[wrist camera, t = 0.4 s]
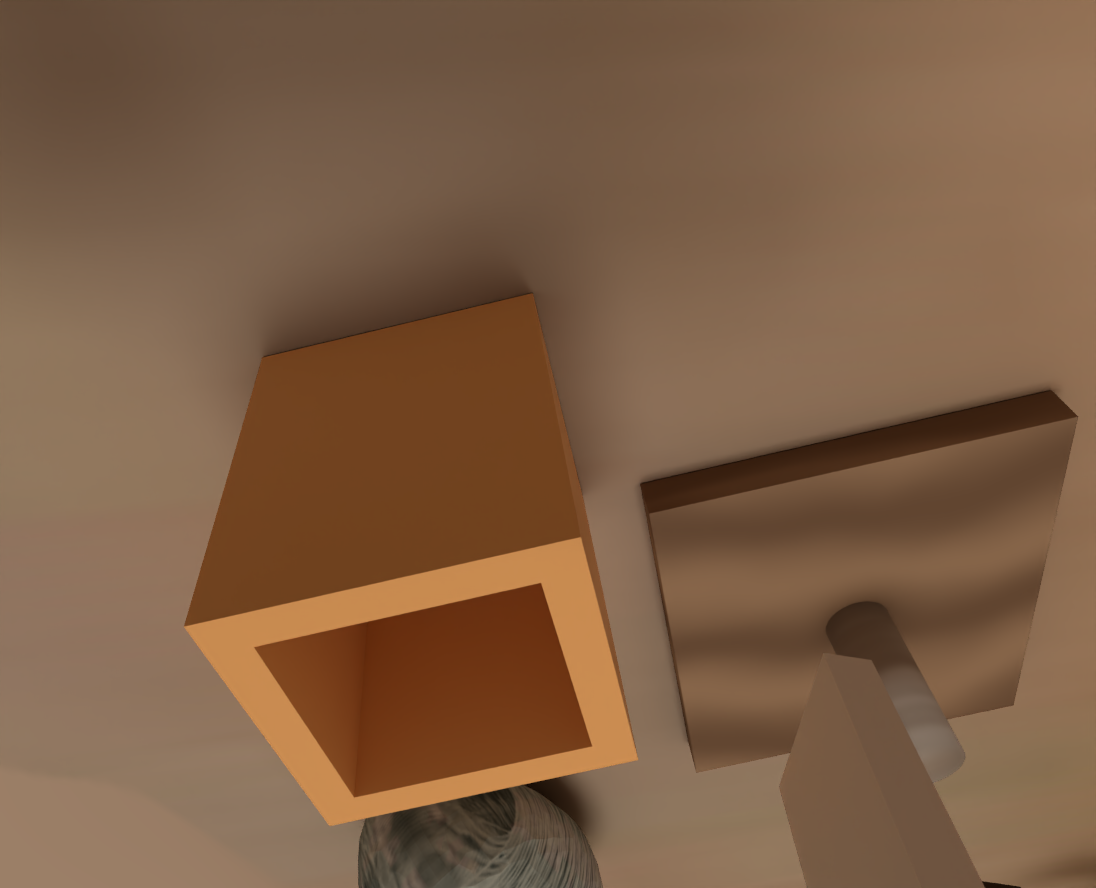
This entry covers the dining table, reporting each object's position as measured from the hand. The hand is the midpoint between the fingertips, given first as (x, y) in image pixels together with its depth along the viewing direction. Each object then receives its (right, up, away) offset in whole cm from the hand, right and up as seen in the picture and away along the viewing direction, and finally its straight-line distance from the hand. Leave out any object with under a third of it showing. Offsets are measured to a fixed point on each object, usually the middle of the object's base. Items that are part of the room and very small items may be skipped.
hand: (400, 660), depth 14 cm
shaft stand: (+14, -2, +20) cm, 25 cm away
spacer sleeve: (-1, +4, +13) cm, 14 cm away
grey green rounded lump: (-1, -14, +27) cm, 31 cm away
